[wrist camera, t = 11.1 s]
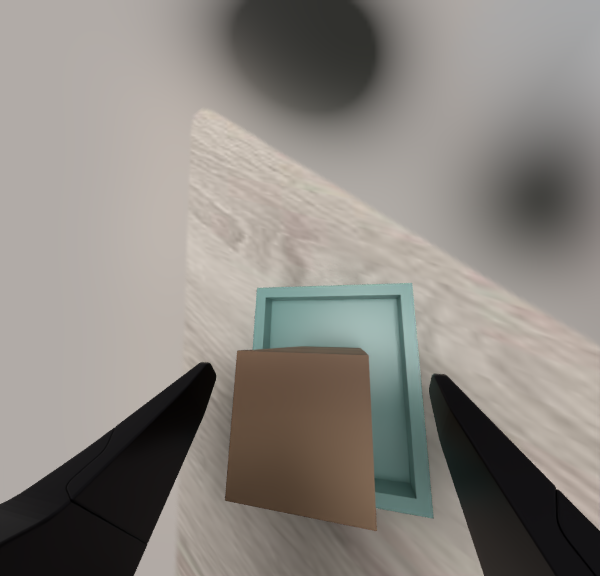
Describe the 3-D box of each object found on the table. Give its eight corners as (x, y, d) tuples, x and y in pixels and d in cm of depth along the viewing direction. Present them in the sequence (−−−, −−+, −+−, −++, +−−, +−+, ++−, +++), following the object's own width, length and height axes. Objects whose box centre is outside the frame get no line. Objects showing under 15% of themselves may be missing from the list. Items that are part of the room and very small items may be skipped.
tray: (421, 490, 15) (433, 518, 13) (258, 465, 18) (243, 483, 15) (404, 290, 18) (412, 283, 16) (268, 294, 21) (257, 288, 18)
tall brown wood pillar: (363, 413, 16) (376, 531, 6) (300, 408, 17) (224, 500, 7) (360, 347, 17) (368, 355, 7) (302, 346, 18) (237, 350, 8)
